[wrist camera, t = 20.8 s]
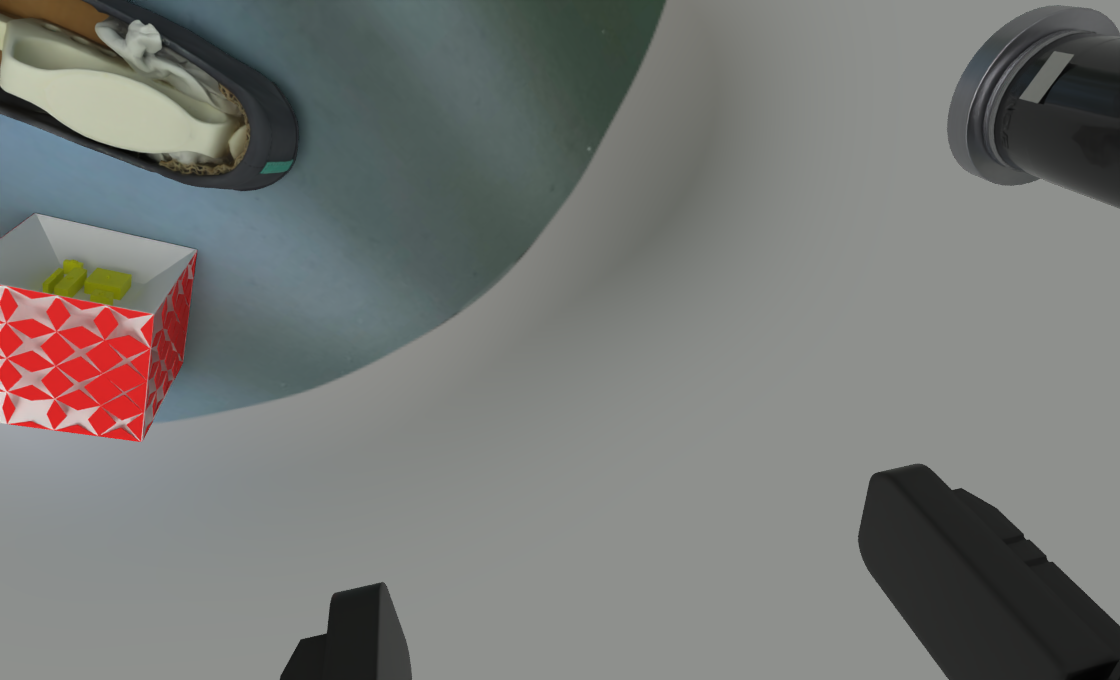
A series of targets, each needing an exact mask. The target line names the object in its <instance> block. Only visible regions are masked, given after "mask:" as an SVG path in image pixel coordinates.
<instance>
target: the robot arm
mask: <svg viewBox="0 0 1120 680" xmlns="http://www.w3.org/2000/svg"><path fill="white" fill-rule="evenodd" d="M983 136H984V142H985V146H986V149H987V151H988V153H989V154H990V156H991V157H992V158H993V159H994V160H995V161H996V162H997V163H998V164H1000V165H1002V166H1004V167H1007V168H1009V169H1012V170H1015V171H1018V172H1024V173H1027V174H1030V175H1032V176H1035V177H1038V178H1040V179H1043V180H1045V181H1048V182H1050V183H1053V184H1055V185H1058V186H1061V187H1064V188H1066V189H1069V190H1071V191H1074V192H1077V193H1079V194H1082V195H1085V196H1087V197H1090V198H1093V199H1096V200H1098V201H1101V202H1103V203H1106V204H1109V205H1111V206H1114V207H1117V208H1120V37H1117V36H1109V35H1102V34H1099V33H1096V32H1093V31H1086V30H1079V29H1068V30H1062V31H1058V32H1055V33H1052V34H1050V35H1047V36H1045V37H1043V38H1042V39H1040V40H1038V41H1037V42H1035V43H1033V44H1032V45H1031V46H1029V47H1028V48H1027V49H1026V50H1024V51H1023V52H1022V53H1021V54H1020V55H1019V56H1018V57H1017V58H1016V59H1015V60H1014V61H1013V62H1012V63H1011V64H1010V66H1009V67H1008V68H1007V69H1006V71H1005V72H1004V73H1003V75H1002V76H1001V78H1000V79H999V81H998V83H997V84H996V86H995V88H994V90H993V92H992V94H991V97H990V99H989V102H988V105H987V108H986V111H985V116H984V123H983ZM858 542H859V548H860V552H861V555H862V558H863V561H864V563H865V565H866V567H867V569H868V571H869V572H870V574H871V575H872V576H873V578H874V579H875V580H876V582H877V583H878V584H879V586H880V587H881V589H882V590H883V591H884V593H885V594H886V595H887V597H888V598H889V599H890V601H891V602H892V603H893V605H894V606H895V608H896V609H897V610H898V612H899V613H900V614H901V616H902V617H903V618H904V620H905V621H906V622H907V624H908V625H909V626H910V628H911V629H912V631H913V632H914V633H915V635H916V636H917V637H918V639H919V640H920V641H921V643H922V644H923V645H924V646H925V648H926V649H927V651H928V652H929V654H930V655H931V656H932V658H933V659H934V660H935V662H936V663H937V664H938V665H939V667H940V668H941V670H942V671H943V672H944V674H945V675H946V677H947V678H948V679H949V680H1120V626H1119V625H1118V624H1117V623H1116V622H1115V621H1114V620H1113V619H1112V618H1111V617H1110V616H1109V615H1108V614H1106V612H1105V611H1103V610H1102V609H1101V608H1100V607H1099V606H1098V605H1097V604H1096V603H1095V602H1094V601H1093V600H1092V599H1091V598H1090V597H1089V596H1088V595H1087V594H1086V593H1085V592H1084V591H1083V590H1081V589H1080V588H1079V587H1078V586H1077V585H1076V584H1075V583H1074V582H1073V581H1072V580H1071V579H1070V578H1069V577H1068V576H1067V575H1066V574H1064V572H1063V571H1062V570H1061V569H1060V568H1059V567H1057V566H1056V565H1055V564H1054V563H1053V562H1048V560H1047V558H1046V555H1045V554H1044V553H1043V552H1042V551H1041V550H1039V548H1038V547H1037V546H1036V545H1034V544H1033V543H1032V542H1031V541H1030V540H1026V539H1025V538H1024V534H1023V533H1022V532H1021V531H1020V530H1019V529H1018V528H1017V527H1016V526H1015V525H1013V524H1012V523H1011V522H1010V521H1009V520H1008V519H1007V518H1006V517H1005V516H1004V515H1003V514H1002V513H1001V512H1000V511H999V510H998V509H997V508H995V507H993V506H992V505H990V504H988V503H987V502H984V501H983V500H981V499H980V498H978V497H976V496H974V495H972V494H971V493H969V492H967V491H966V490H964V489H962V488H960V489H955V490H951V489H950V488H949V487H948V486H947V485H946V484H945V483H944V482H943V481H942V480H941V479H940V478H939V477H938V476H937V475H936V474H935V473H934V472H933V471H932V470H931V469H930V468H928V467H927V466H925V465H923V464H913V465H909V466H904V467H900V468H895V469H891V470H886V471H882V472H878V473H875V474H874V475H873V476H872V477H871V479H870V482H869V487H868V491H867V496H866V501H865V505H864V510H863V515H862V520H861V525H860V530H859V535H858ZM280 680H412V673H411V664H410V657H409V651H408V646H407V643H406V639H405V636H404V634H403V631H402V628H401V625H400V622H399V619H398V617H397V614H396V611H395V608H394V605H393V602H392V600H391V597H390V594H389V591H388V589H387V586H386V584H385V583H383V582H381V583H377V584H373V585H368V586H364V587H360V588H355V589H351V590H346V591H341V592H337V593H334V594H333V596H332V598H331V603H330V610H329V620H328V630H327V634H323V635H319V636H314V637H310V638H305V639H301V640H300V642H299V644H298V646H297V647H296V649H295V651H294V653H293V654H292V656H291V658H290V660H289V662H288V664H287V665H286V667H285V669H284V671H283V673H282V674H281V677H280Z"/></svg>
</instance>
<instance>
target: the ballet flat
mask: <svg viewBox="0 0 1120 680" xmlns="http://www.w3.org/2000/svg"><path fill="white" fill-rule="evenodd" d="M0 114H2V115H5V116H8V117H10V118H13V119H16V120H19V121H22V122H24V123H27V124H29V125H32V126H35V127H37V128H40V129H42V130H45V131H47V132H50V133H52V134H55V135H57V136H60V137H62V138H64V139H67V140H69V141H72V142H74V143H77V144H79V145H82V146H84V147H87V148H90V149H93V150H95V151H98V152H101V153H104V154H106V155H109V156H112V157H114V158H117V159H119V160H122V161H125V162H127V163H130V164H132V165H135V166H137V167H140V168H143V169H145V170H148V171H151V172H156V173H159V174H161V175H162V176H164V177H167V178H170V179H173V180H175V181H178V182H181V183H183V184H187V185H192V186H197V187H205V188H219V189H233V190H237V191H250V190H257V189H261V188H264V187H267V186H269V185H271V184H273V183H275V182H277V181H278V180H279V179H281V178H282V177H284V176H285V175H286V174H287V173H288V172H289V171H290V170H291V168H292V166H293V164H294V162H295V160H296V155H297V150H298V140H299V128H298V121H297V118H296V115H295V113H294V111H293V109H292V107H291V105H290V103H289V102H288V100H287V99H286V97H285V96H284V94H283V93H282V92H281V90H280V89H279V88H278V87H277V85H276V84H275V83H273V82H271V81H270V80H268V79H267V78H266V77H264V76H263V75H262V74H261V73H259V72H258V71H256V70H254V69H252V68H251V67H249V66H247V65H245V64H243V63H241V62H240V61H238V60H236V59H234V58H233V57H231V56H230V55H228V54H226V53H225V52H223V51H222V50H220V49H218V48H217V47H215V46H214V45H212V44H210V43H209V42H207V41H206V40H204V39H203V38H201V37H199V36H198V35H196V34H194V33H192V32H191V31H189V30H187V29H185V28H183V27H181V26H179V25H177V24H175V23H173V22H171V21H169V20H167V19H165V18H164V17H162V16H160V15H157V14H155V13H153V12H151V11H149V10H146V9H144V8H142V7H139V6H137V5H134V4H131V3H129V2H128V1H126V0H0Z"/></svg>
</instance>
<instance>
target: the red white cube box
mask: <svg viewBox="0 0 1120 680" xmlns="http://www.w3.org/2000/svg"><path fill="white" fill-rule="evenodd" d="M196 257H197V249H192V248H188V247H183V246H179V245H174V244H170V243H166V242H161V241H157V240H152V239H148V238H143V237H139V236H134V235H130V234H126V233H121V232H117V231H112V230H108V229H103V228H99V227H95V226H90V225H86V224H81V223H77V222H72V221H68V220H63V219H59V218H55V217H50V216H46V215H41V214H37V213H34V214H33V215H31V216H30V217H29V218H27V219H26V220H24V221H23V222H22V223H20V224H19V225H18V226H16V227H15V228H14V229H12V230H11V231H10V232H8V233H7V234H6V235H4V236H3V237H2V238H0V423H3V424H11V425H18V426H26V427H34V428H41V429H49V430H55V431H63V432H71V433H78V434H85V435H93V436H101V437H108V438H115V439H123V440H131V441H138V442H142V441H143V439H144V437H145V435H146V433H147V432H148V430H149V428H150V426H151V424H152V422H153V419H154V417H155V416H156V414H157V412H158V410H159V408H160V406H161V404H162V402H163V400H164V398H165V396H166V394H167V392H168V391H169V389H170V387H171V385H172V383H173V381H174V380H175V378H176V376H177V374H178V372H179V370H180V368H181V366H182V364H183V359H184V351H185V343H186V335H187V327H188V319H189V311H190V302H191V294H192V286H193V280H194V273H195V265H196Z"/></svg>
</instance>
